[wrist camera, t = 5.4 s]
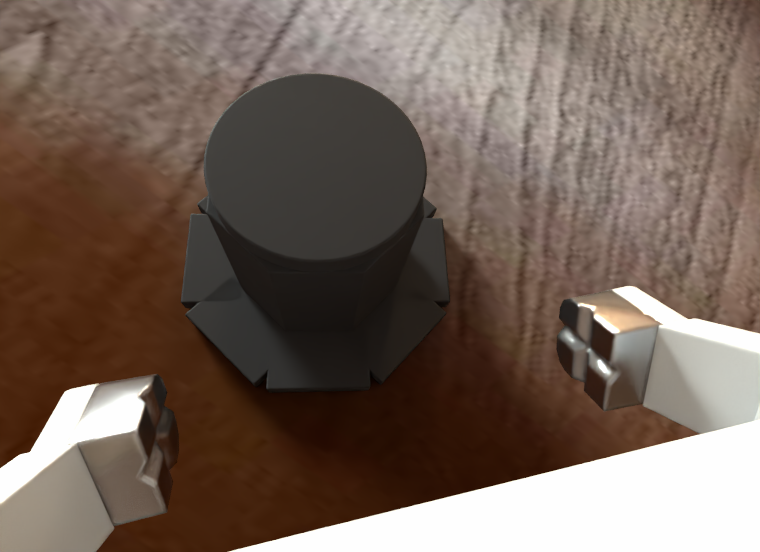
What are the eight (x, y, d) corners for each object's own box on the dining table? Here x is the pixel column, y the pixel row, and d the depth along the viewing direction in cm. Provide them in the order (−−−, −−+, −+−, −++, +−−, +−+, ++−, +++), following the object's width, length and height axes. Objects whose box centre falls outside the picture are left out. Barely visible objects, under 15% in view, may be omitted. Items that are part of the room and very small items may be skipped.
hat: (453, 388, 20) (528, 344, 13) (176, 394, 19) (81, 350, 12) (433, 161, 24) (481, 27, 17) (202, 154, 23) (144, 6, 16)
